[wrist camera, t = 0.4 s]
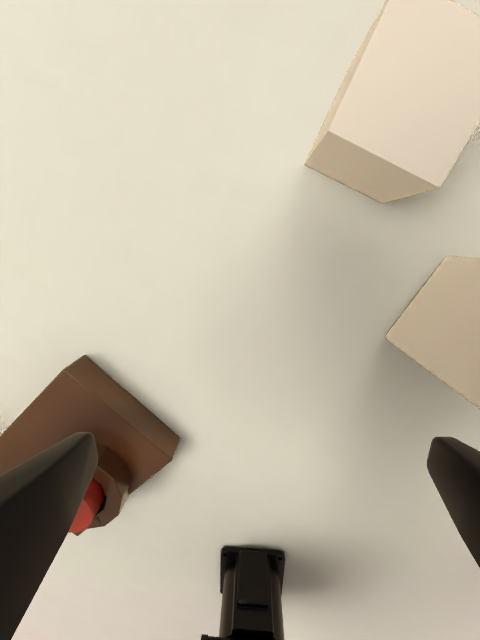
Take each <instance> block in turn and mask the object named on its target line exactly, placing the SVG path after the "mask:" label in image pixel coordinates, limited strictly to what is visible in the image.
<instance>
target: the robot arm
mask: <svg viewBox="0 0 480 640" xmlns="http://www.w3.org/2000/svg"><path fill="white" fill-rule="evenodd" d="M97 464H98V453H97V448H96V443H95V438H94V435H93V434H92V433H90V432H77V433H74V434H72V435H71V436H69V437H67V438H65V439H63V440H62V441H60V442H58V443H56V444H55V445H53V446H51V447H49V448H48V449H46V450H44V451H42V452H41V453H39V454H37V455H35V456H34V457H32V458H30V459H28V460H27V461H25V462H23V463H21V464H20V465H18V466H16V467H14V468H13V469H11V470H9V471H7V472H6V473H4V474H2V475H0V640H11V638H12V637H13V635H14V633H15V631H16V629H17V627H18V625H19V623H20V622H21V620H22V618H23V616H24V614H25V612H26V610H27V608H28V607H29V605H30V603H31V601H32V599H33V597H34V595H35V593H36V592H37V590H38V588H39V586H40V584H41V582H42V580H43V578H44V577H45V575H46V573H47V571H48V569H49V567H50V565H51V563H52V562H53V560H54V558H55V556H56V554H57V552H58V550H59V548H60V547H61V545H62V543H63V541H64V539H65V537H66V535H67V533H68V531H69V529H70V527H71V525H72V523H73V521H74V518H75V516H76V514H77V511H78V509H79V507H80V504H81V502H82V500H83V497H84V495H85V493H86V490H87V488H88V486H89V483H90V481H91V479H92V476H93V474H94V472H95V469H96V467H97ZM427 468H428V471H429V474H430V476H431V478H432V480H433V482H434V484H435V486H436V488H437V490H438V492H439V494H440V496H441V498H442V500H443V502H444V504H445V506H446V508H447V510H448V512H449V514H450V516H451V518H452V520H453V522H454V524H455V526H456V528H457V529H458V531H459V533H460V535H461V537H462V539H463V541H464V542H465V544H466V546H467V547H468V549H469V551H470V553H471V554H472V556H473V557H474V559H475V561H476V562H477V564H478V566H479V567H480V451H478V450H476V449H474V448H472V447H470V446H468V445H466V444H464V443H462V442H461V441H459V440H457V439H455V438H452V437H435V438H433V440H432V442H431V446H430V451H429V455H428V459H427ZM284 563H285V554H284V552H283V551H278V550H263V549H248V548H232V547H224V548H222V549H221V578H220V592H221V594H223V596H222V608H221V620H220V631H219V637H211V636H208V635H204V634H202V636H201V640H284V630H283V617H282V604H281V594H282V584H283V574H284Z"/></svg>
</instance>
